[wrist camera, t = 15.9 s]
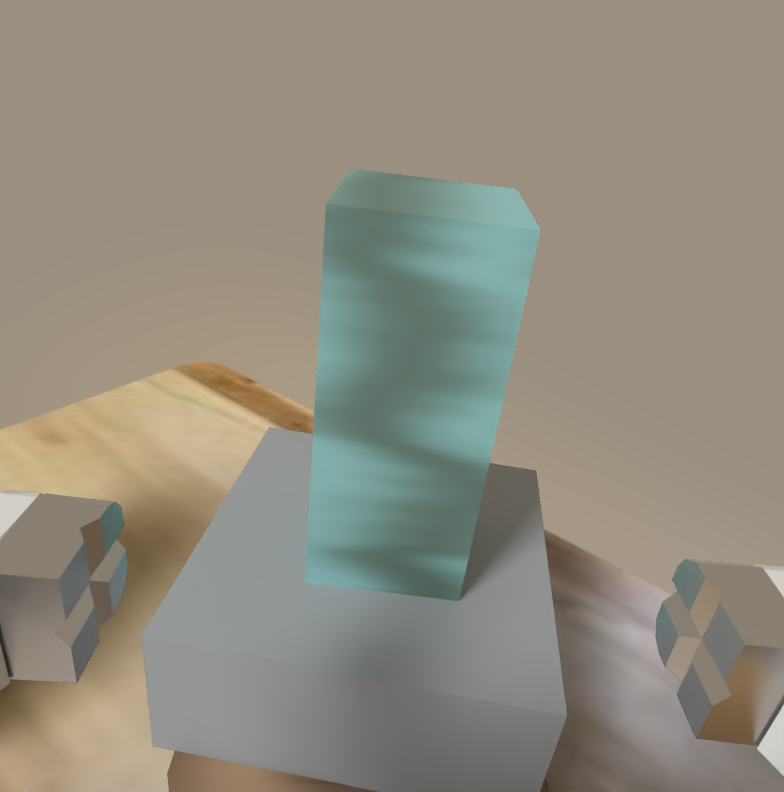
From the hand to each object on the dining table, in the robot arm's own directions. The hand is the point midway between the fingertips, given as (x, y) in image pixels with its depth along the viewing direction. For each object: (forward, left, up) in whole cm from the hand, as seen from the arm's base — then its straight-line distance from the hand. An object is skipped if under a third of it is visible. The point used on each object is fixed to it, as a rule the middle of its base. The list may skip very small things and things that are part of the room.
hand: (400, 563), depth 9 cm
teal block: (0, -10, -8) cm, 14 cm away
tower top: (0, -11, -14) cm, 17 cm away
